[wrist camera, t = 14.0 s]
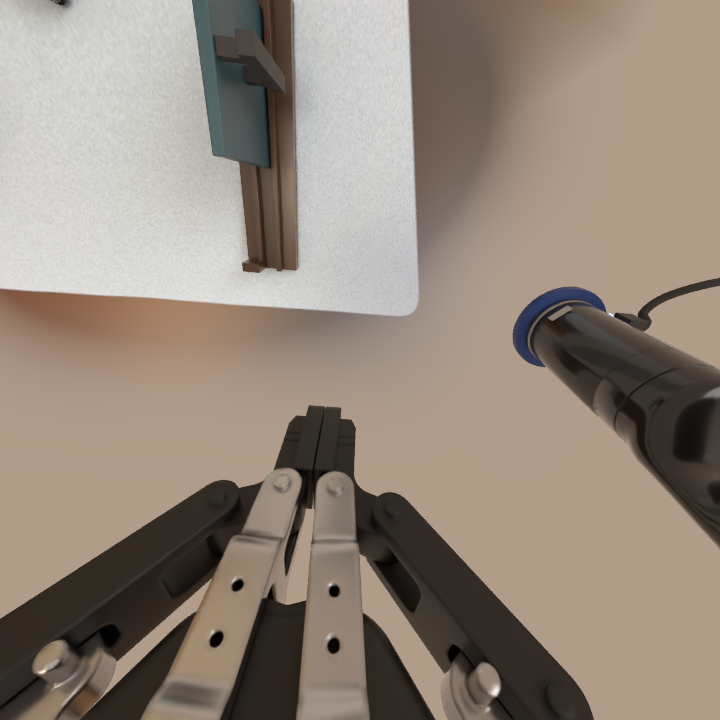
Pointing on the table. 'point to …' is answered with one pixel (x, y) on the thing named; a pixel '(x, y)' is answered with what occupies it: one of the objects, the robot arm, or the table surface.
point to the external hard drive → (59, 2)
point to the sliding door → (236, 78)
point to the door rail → (274, 158)
